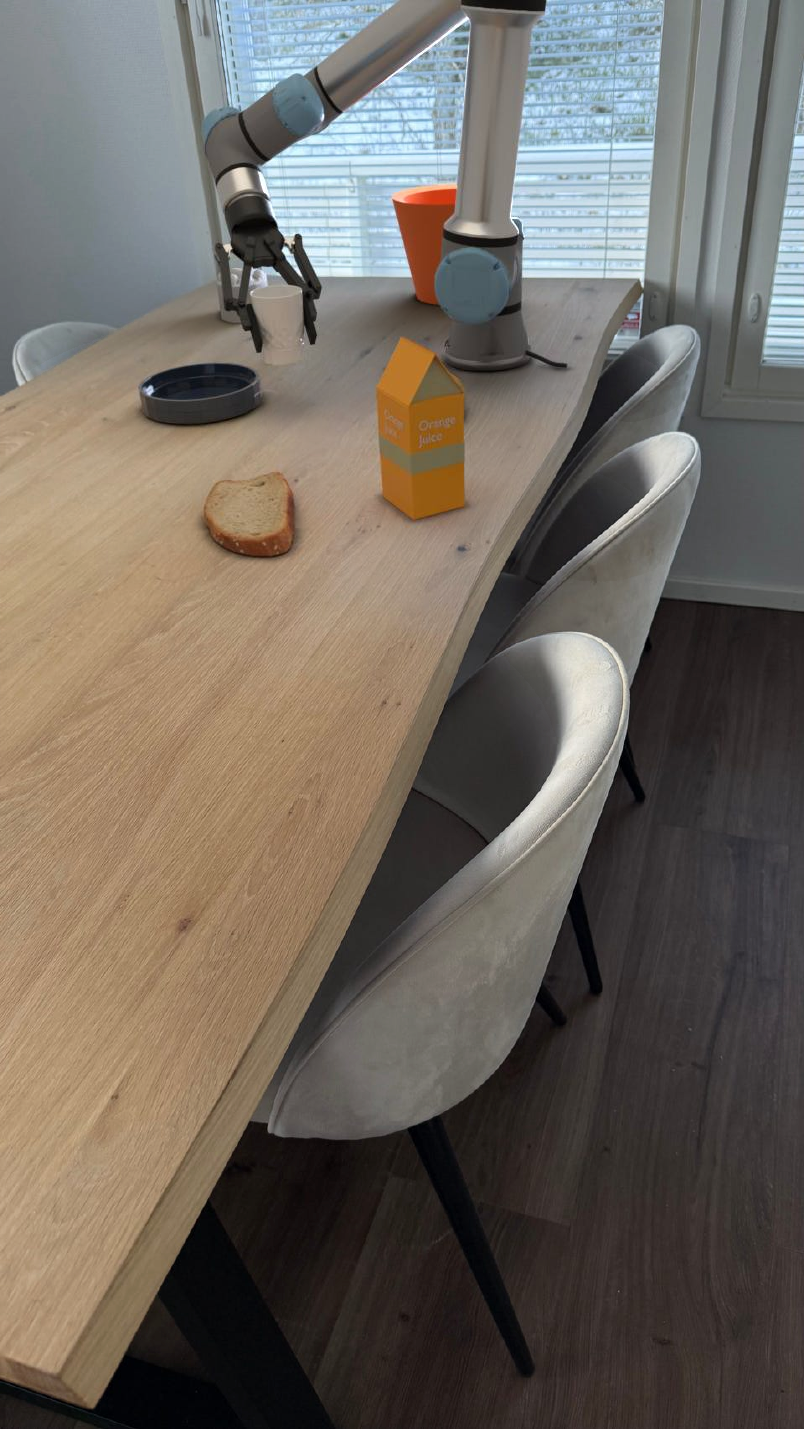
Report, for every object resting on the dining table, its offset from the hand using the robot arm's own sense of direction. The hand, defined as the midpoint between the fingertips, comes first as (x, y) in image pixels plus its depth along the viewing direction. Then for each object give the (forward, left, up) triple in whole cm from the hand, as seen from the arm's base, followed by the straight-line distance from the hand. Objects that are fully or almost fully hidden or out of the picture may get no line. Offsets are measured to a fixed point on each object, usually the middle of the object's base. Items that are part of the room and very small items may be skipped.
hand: (286, 343), depth 150 cm
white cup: (+3, -1, -3) cm, 5 cm away
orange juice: (-37, +11, -12) cm, 40 cm away
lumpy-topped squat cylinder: (+57, -36, -12) cm, 69 cm away
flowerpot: (+30, -72, -12) cm, 79 cm away
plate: (+18, +5, -12) cm, 22 cm away
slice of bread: (-24, +28, -12) cm, 38 cm away
